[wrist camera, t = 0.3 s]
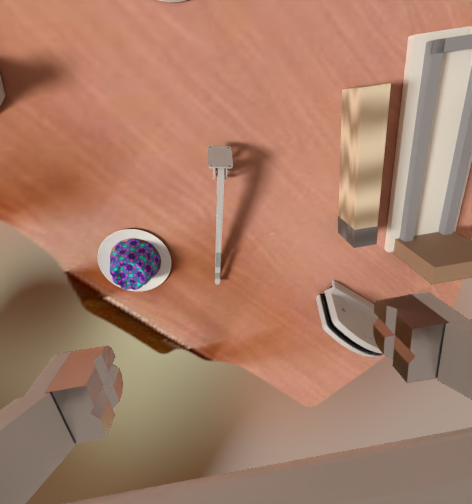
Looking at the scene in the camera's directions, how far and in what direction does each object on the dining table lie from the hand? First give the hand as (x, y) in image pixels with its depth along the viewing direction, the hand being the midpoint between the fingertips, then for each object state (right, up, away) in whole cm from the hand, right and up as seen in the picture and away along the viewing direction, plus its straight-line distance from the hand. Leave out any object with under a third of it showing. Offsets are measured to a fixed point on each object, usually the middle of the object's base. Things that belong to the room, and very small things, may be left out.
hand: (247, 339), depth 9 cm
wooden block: (+18, +16, +37) cm, 44 cm away
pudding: (-17, +1, +41) cm, 45 cm away
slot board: (+31, +18, +37) cm, 51 cm away
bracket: (-3, +8, +39) cm, 40 cm away
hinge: (+23, -9, +51) cm, 56 cm away
